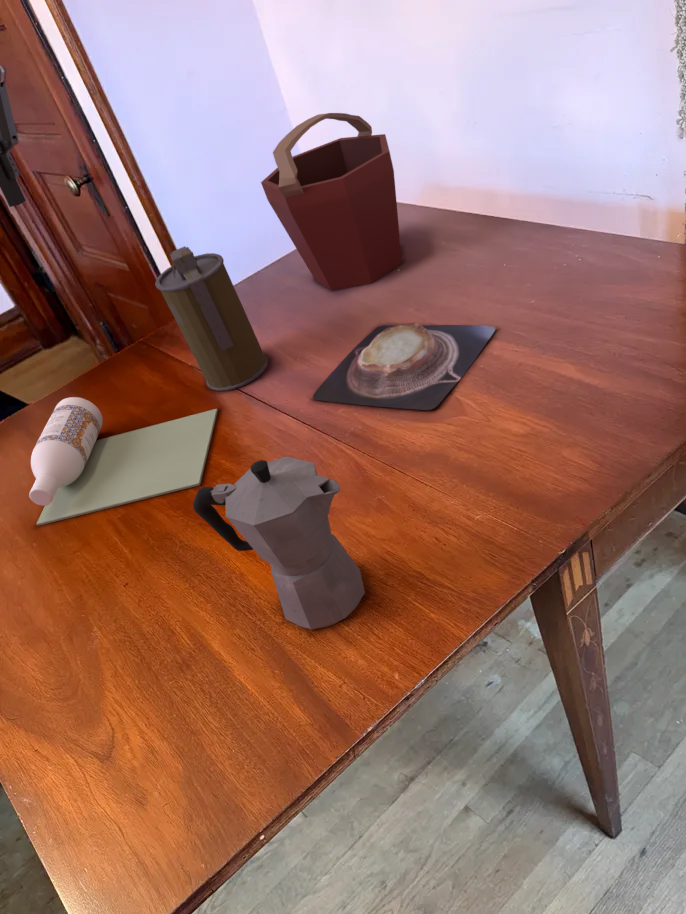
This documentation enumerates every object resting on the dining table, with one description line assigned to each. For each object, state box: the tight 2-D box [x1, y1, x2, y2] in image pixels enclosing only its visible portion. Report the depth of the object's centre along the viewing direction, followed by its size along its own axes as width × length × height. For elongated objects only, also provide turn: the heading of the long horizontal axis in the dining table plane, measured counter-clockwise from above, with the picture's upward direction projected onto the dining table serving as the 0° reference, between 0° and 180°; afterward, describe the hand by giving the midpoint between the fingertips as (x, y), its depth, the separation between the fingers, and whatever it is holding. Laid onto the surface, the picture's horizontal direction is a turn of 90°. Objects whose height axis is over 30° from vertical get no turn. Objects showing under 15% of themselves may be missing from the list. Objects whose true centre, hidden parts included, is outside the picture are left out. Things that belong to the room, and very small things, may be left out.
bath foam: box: [28, 396, 104, 507], centre depth 107 cm, size 7×7×20 cm
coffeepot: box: [192, 455, 366, 630], centre depth 72 cm, size 15×9×18 cm, turn 78°
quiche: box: [312, 322, 496, 411], centre depth 106 cm, size 21×20×4 cm
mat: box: [36, 408, 219, 527], centre depth 107 cm, size 24×18×1 cm
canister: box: [154, 246, 269, 392], centre depth 113 cm, size 11×10×20 cm
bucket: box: [260, 112, 403, 291], centre depth 129 cm, size 24×22×25 cm
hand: (17, 203), depth 111 cm, fingers closed
